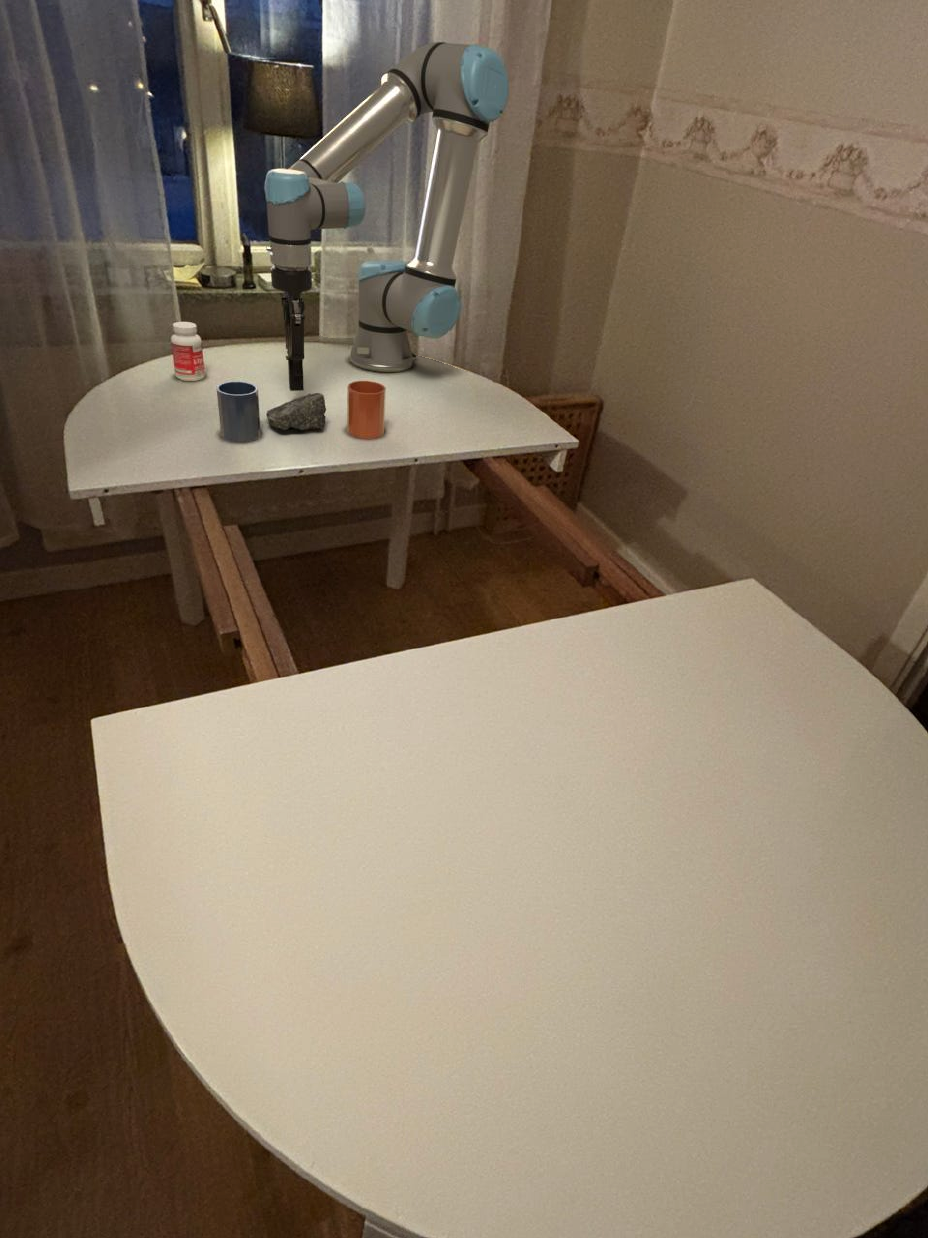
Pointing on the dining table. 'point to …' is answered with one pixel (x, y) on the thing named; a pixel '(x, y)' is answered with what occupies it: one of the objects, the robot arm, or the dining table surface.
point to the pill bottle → (187, 352)
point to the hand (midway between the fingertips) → (296, 389)
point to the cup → (238, 411)
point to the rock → (299, 413)
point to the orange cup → (365, 409)
